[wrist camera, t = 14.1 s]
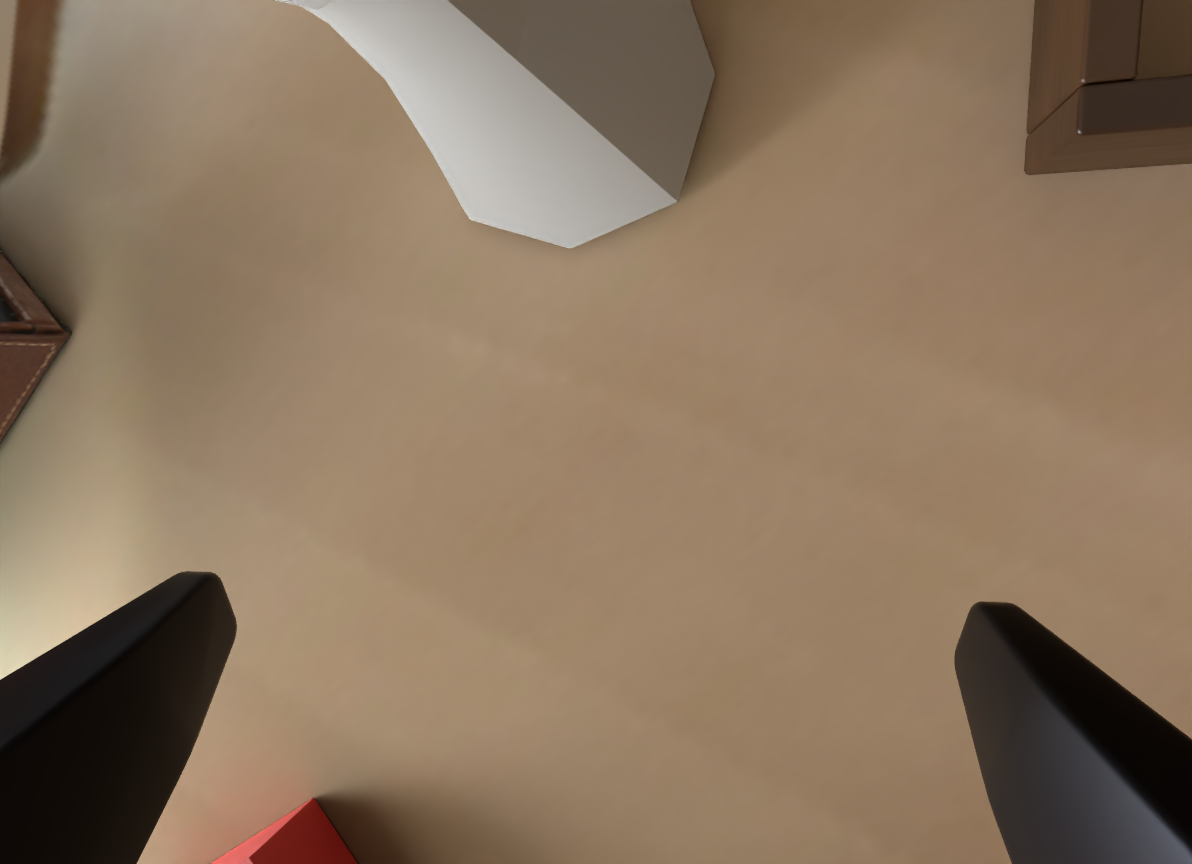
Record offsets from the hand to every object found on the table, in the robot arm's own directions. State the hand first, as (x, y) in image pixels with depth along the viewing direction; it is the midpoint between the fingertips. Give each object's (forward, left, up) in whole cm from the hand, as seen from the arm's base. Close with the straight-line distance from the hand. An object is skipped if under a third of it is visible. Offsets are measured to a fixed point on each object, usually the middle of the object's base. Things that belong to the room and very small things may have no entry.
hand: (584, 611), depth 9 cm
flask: (+9, -4, -10) cm, 14 cm away
